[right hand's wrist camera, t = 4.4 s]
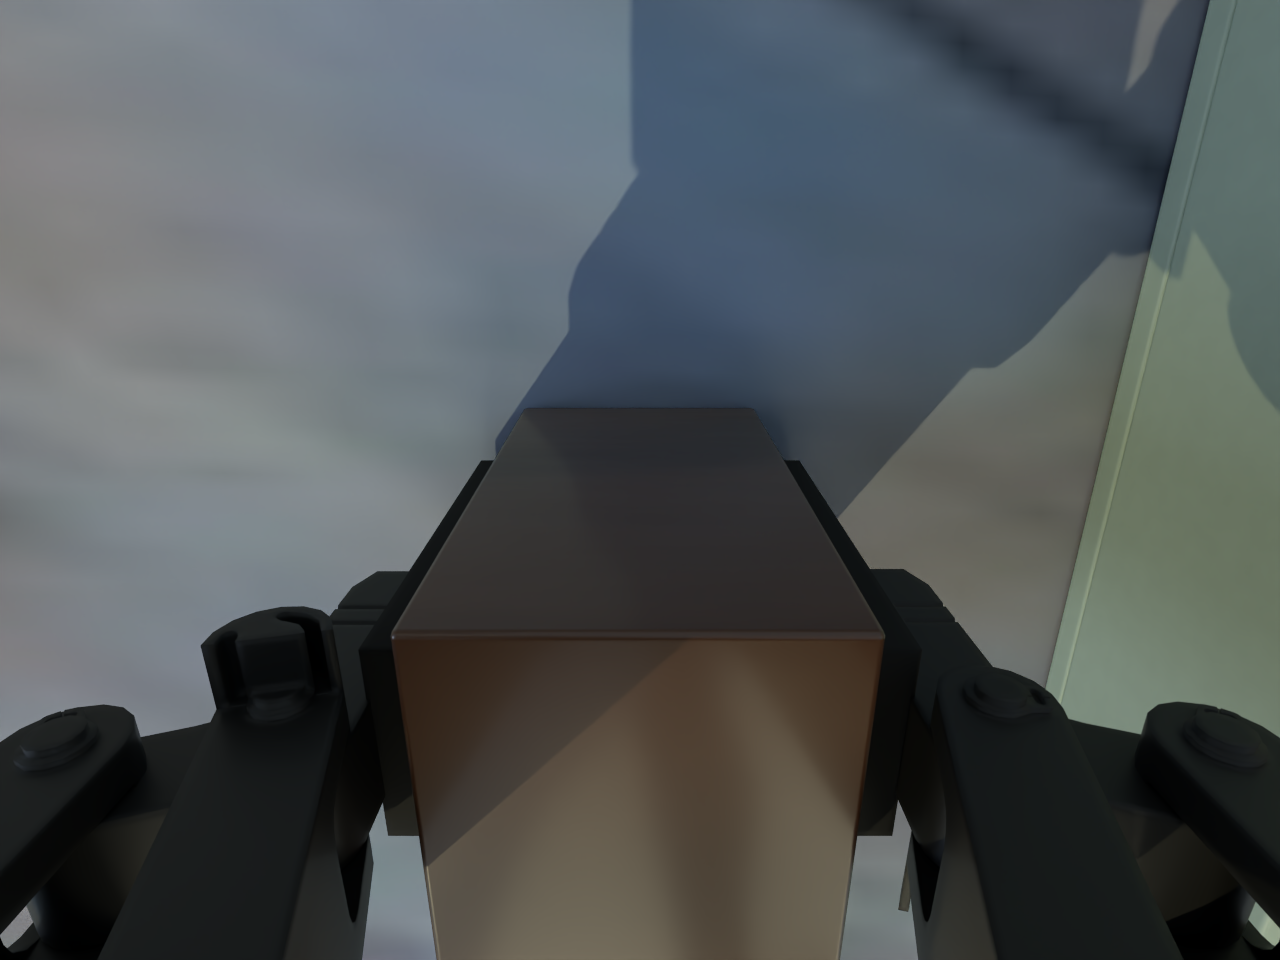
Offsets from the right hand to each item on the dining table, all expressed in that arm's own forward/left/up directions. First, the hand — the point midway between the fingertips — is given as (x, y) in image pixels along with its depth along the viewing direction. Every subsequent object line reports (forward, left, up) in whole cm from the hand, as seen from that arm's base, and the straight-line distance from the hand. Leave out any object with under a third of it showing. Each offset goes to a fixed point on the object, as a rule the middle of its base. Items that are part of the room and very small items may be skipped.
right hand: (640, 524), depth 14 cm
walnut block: (0, 0, 0) cm, 0 cm away
